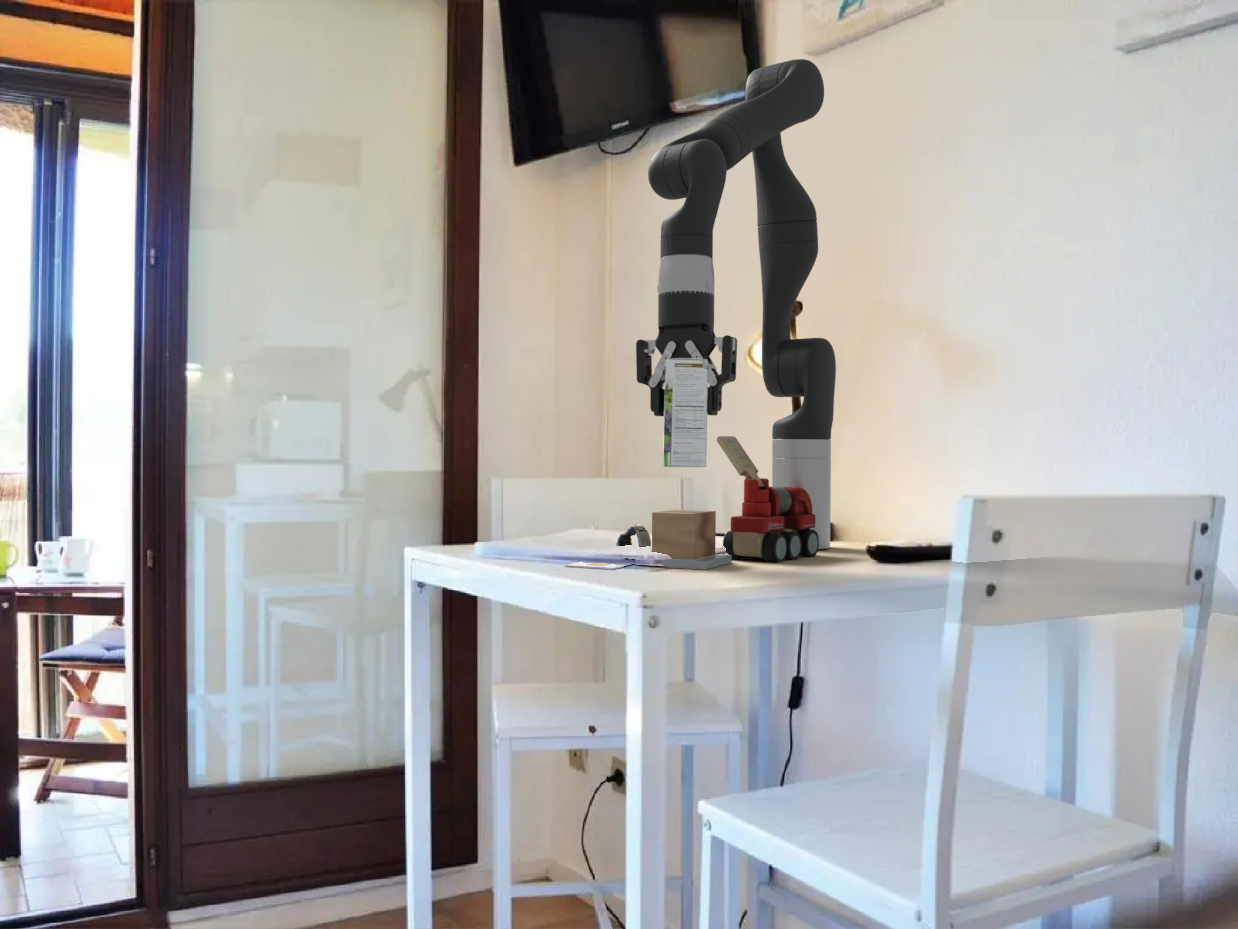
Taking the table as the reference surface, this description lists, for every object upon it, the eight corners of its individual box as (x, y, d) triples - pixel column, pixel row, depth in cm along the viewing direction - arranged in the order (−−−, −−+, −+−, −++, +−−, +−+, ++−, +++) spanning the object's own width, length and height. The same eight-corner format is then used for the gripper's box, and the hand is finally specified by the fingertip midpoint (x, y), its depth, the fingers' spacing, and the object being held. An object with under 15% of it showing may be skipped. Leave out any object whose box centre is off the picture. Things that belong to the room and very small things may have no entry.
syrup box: (662, 466, 144) (663, 361, 143) (706, 467, 144) (706, 361, 143) (663, 467, 138) (664, 357, 138) (708, 467, 138) (709, 357, 138)
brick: (674, 552, 146) (674, 509, 146) (715, 554, 143) (715, 511, 143) (651, 557, 138) (652, 512, 138) (694, 560, 136) (694, 513, 136)
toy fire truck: (822, 556, 155) (823, 436, 155) (771, 564, 142) (772, 435, 142) (754, 551, 162) (755, 437, 161) (700, 559, 149) (701, 435, 149)
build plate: (664, 559, 147) (664, 551, 147) (731, 562, 143) (731, 555, 143) (634, 565, 138) (634, 557, 138) (705, 569, 134) (705, 561, 134)
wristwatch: (643, 568, 148) (626, 541, 151) (658, 546, 145) (640, 518, 147) (626, 572, 147) (609, 544, 149) (640, 550, 143) (623, 521, 146)
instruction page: (596, 560, 145) (596, 558, 145) (642, 563, 142) (642, 561, 142) (564, 566, 137) (564, 564, 137) (612, 569, 134) (612, 567, 134)
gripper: (746, 293, 141) (745, 416, 141) (648, 299, 147) (648, 417, 147) (727, 285, 134) (726, 414, 134) (626, 292, 140) (625, 415, 140)
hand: (685, 415), depth 141 cm, fingers closed on syrup box, 7 cm apart
